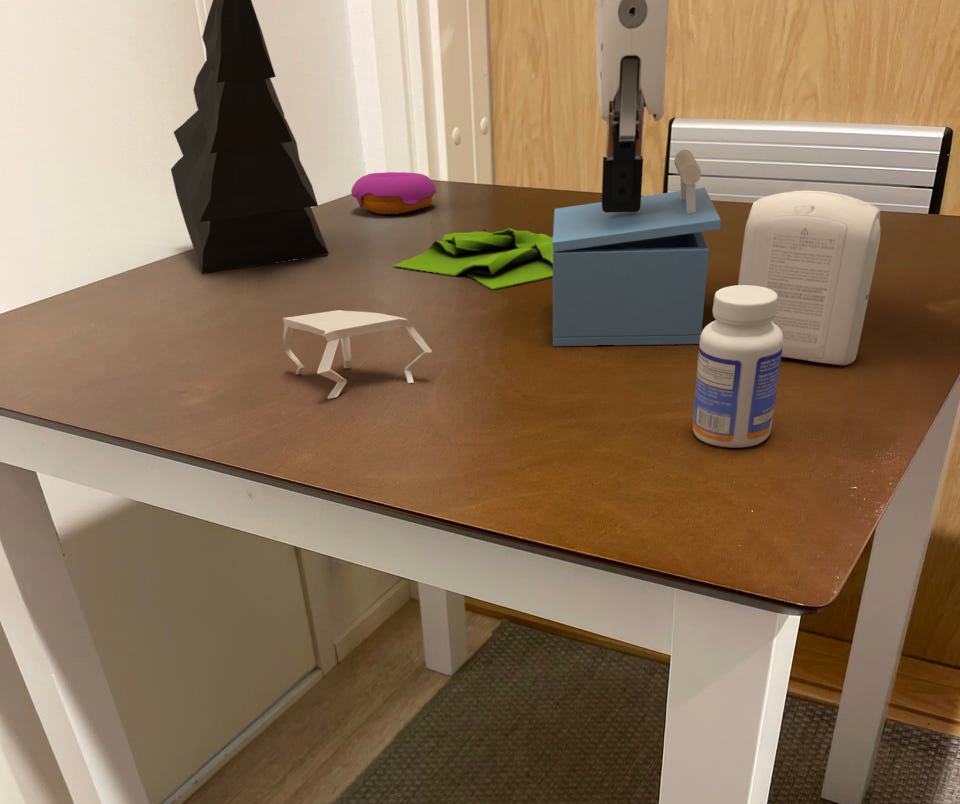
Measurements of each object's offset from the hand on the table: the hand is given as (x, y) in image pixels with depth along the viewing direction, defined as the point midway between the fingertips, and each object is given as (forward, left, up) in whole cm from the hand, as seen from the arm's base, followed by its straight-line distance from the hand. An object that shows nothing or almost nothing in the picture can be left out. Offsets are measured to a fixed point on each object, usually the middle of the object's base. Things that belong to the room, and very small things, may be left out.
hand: (620, 209), depth 82 cm
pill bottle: (-7, +24, -10) cm, 27 cm away
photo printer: (-14, +8, -10) cm, 19 cm away
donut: (+27, -47, -10) cm, 55 cm away
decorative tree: (+38, -22, -10) cm, 45 cm away
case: (-1, 0, -10) cm, 10 cm away
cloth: (+12, -22, -10) cm, 27 cm away
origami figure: (+21, +13, -10) cm, 27 cm away
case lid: (-1, 0, -1) cm, 2 cm away
